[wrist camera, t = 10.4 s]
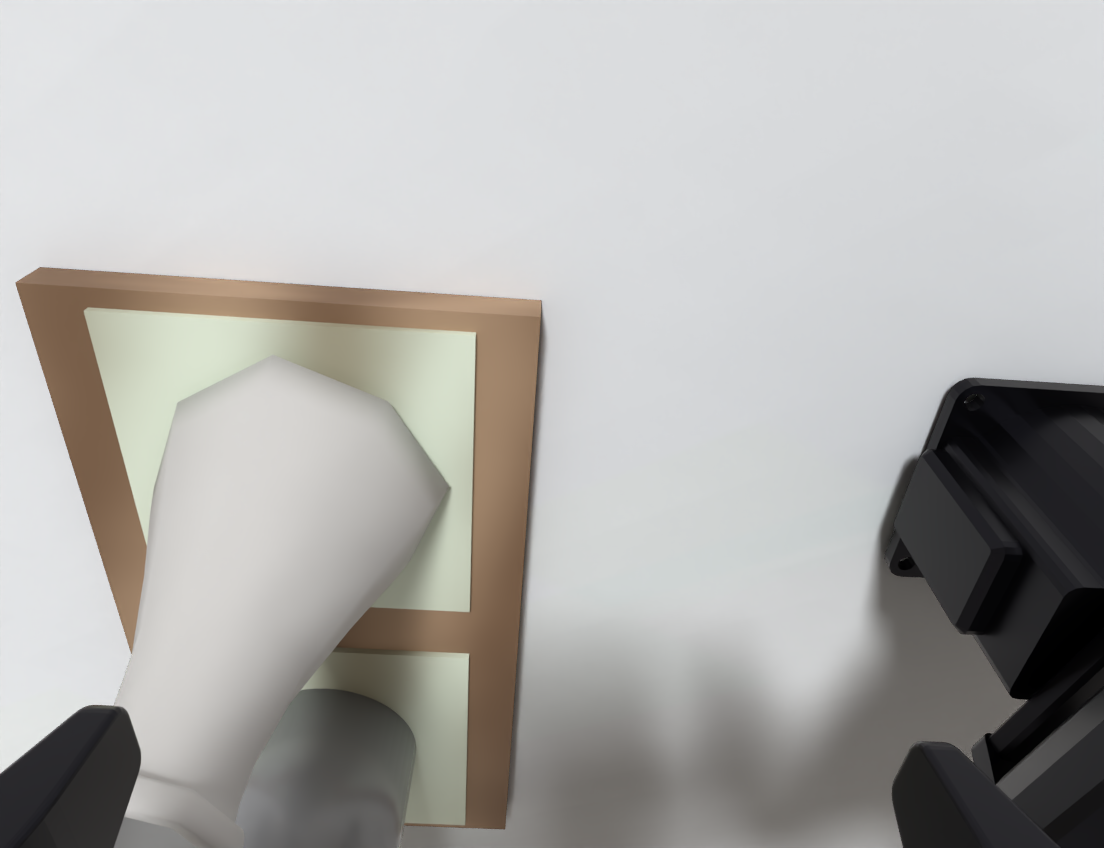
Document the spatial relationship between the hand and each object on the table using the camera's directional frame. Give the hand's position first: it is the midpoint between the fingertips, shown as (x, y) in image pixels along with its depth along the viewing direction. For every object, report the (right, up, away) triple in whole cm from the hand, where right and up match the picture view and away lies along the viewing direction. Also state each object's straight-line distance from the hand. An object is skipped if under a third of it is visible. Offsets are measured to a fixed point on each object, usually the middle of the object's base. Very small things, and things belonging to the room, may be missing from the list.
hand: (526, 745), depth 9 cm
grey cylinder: (-7, -7, +17) cm, 20 cm away
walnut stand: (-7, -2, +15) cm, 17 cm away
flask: (-6, +2, +11) cm, 13 cm away
